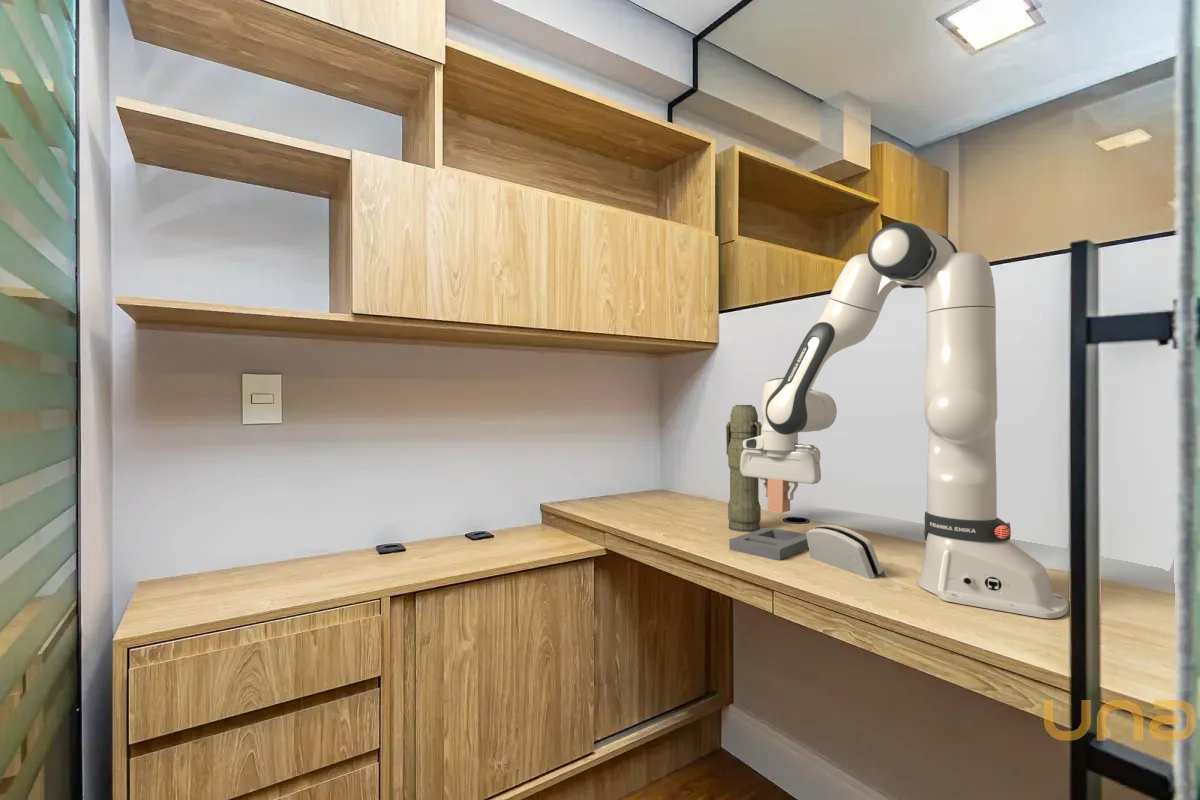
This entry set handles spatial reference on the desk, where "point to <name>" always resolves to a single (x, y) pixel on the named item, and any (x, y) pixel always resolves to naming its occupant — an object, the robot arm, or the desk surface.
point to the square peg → (778, 495)
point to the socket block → (770, 543)
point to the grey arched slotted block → (844, 550)
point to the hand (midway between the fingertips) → (778, 498)
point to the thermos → (742, 488)
